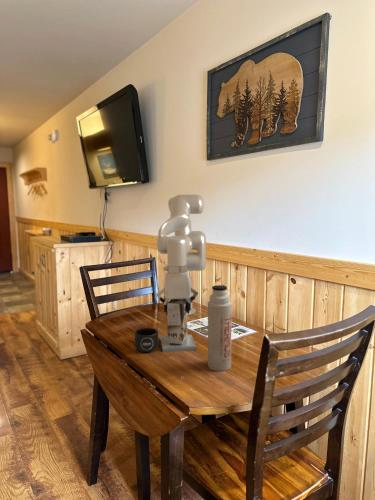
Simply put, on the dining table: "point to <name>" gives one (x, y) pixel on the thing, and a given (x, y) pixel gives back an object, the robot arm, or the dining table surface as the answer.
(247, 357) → the dining table surface
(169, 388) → the dining table surface
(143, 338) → the mug
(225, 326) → the thermos bottle
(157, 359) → the dining table surface
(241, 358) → the dining table surface
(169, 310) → the coffee box
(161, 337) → the slate trivet
